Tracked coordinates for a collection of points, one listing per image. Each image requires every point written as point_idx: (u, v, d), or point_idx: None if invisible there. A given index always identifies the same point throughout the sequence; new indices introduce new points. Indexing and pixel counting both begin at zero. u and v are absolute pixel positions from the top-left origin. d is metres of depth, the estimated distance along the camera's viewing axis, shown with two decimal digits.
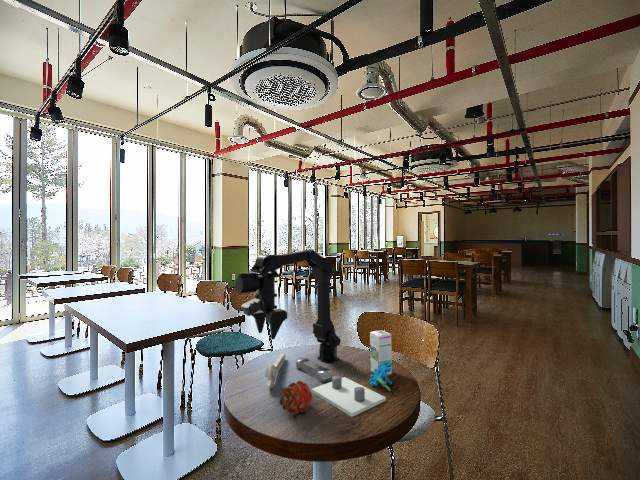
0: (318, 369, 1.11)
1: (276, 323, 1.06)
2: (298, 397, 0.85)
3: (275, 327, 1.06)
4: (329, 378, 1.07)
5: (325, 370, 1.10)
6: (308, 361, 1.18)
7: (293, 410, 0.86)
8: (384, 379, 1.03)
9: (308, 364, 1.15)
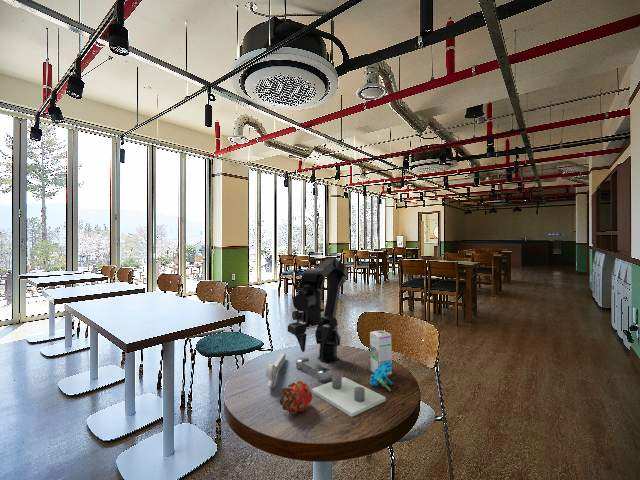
0: (318, 369, 1.11)
1: (301, 337, 1.10)
2: (298, 397, 0.85)
3: (300, 340, 1.11)
4: (329, 378, 1.07)
5: (325, 370, 1.10)
6: (308, 361, 1.18)
7: (293, 410, 0.86)
8: (384, 379, 1.03)
9: (308, 364, 1.15)
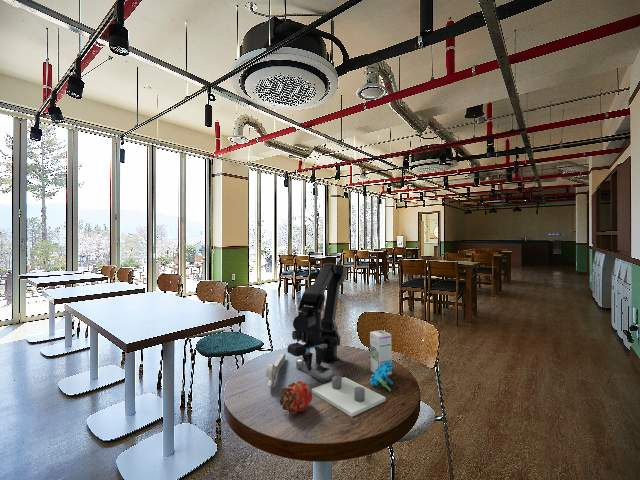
0: (318, 369, 1.11)
1: (307, 356, 1.12)
2: (298, 397, 0.85)
3: (306, 359, 1.12)
4: (329, 378, 1.07)
5: (325, 369, 1.10)
6: None
7: (293, 410, 0.86)
8: (385, 379, 1.03)
9: None
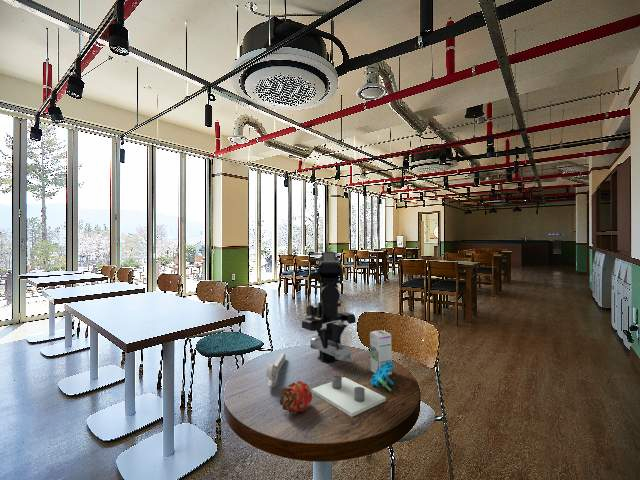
0: (335, 346, 1.01)
1: (323, 332, 1.03)
2: (298, 397, 0.85)
3: (322, 336, 1.03)
4: (347, 355, 0.98)
5: (343, 346, 1.01)
6: None
7: (293, 410, 0.86)
8: (385, 379, 1.03)
9: None
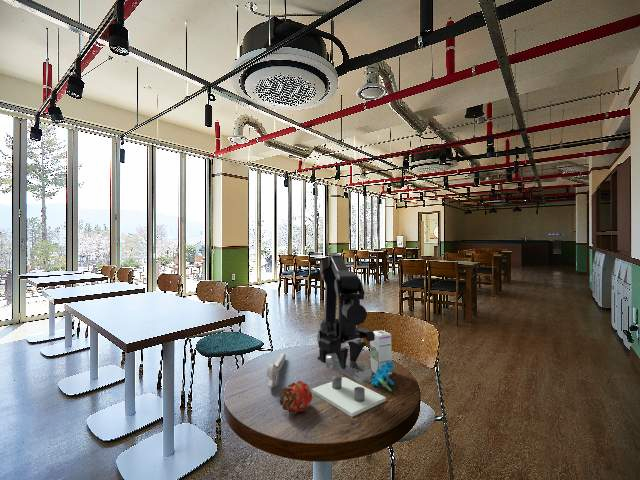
0: (355, 367, 0.94)
1: (341, 352, 0.95)
2: (298, 397, 0.85)
3: (340, 356, 0.95)
4: (369, 377, 0.91)
5: (363, 367, 0.93)
6: None
7: (293, 410, 0.86)
8: (385, 379, 1.03)
9: None
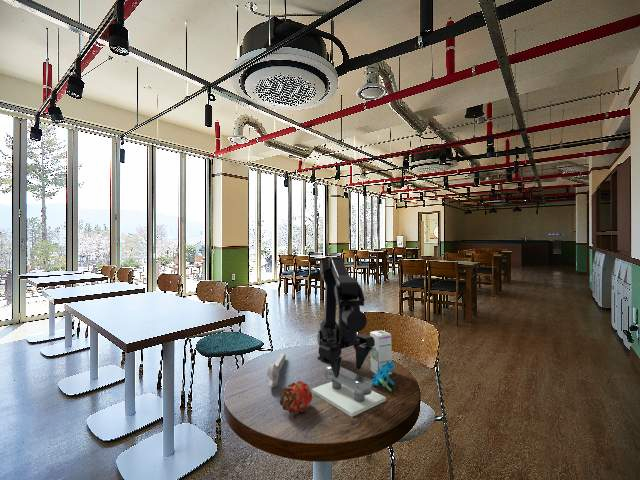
0: (355, 378, 0.94)
1: (334, 360, 0.93)
2: (298, 397, 0.85)
3: (333, 364, 0.94)
4: (369, 389, 0.91)
5: (363, 379, 0.93)
6: (340, 368, 1.01)
7: (293, 410, 0.86)
8: (386, 379, 1.03)
9: (341, 372, 0.98)
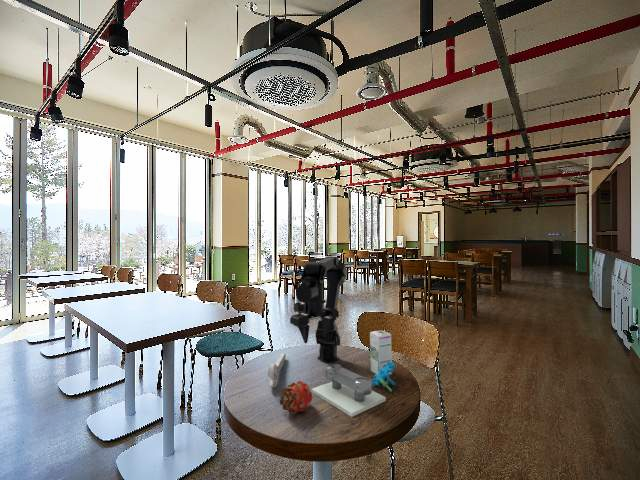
0: (355, 378, 0.94)
1: (303, 328, 1.11)
2: (298, 397, 0.85)
3: (303, 332, 1.11)
4: (369, 389, 0.91)
5: (363, 379, 0.93)
6: (340, 368, 1.01)
7: (293, 410, 0.86)
8: (386, 380, 1.03)
9: (341, 372, 0.98)
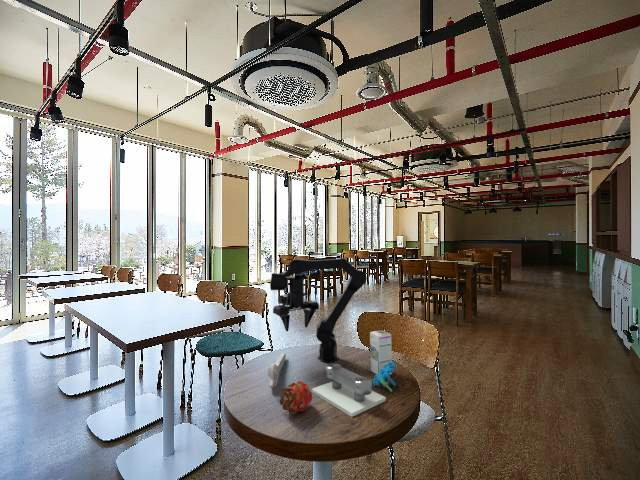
0: (355, 378, 0.94)
1: (285, 318, 1.24)
2: (298, 397, 0.85)
3: (284, 321, 1.24)
4: (369, 389, 0.91)
5: (363, 379, 0.93)
6: (340, 368, 1.01)
7: (293, 410, 0.86)
8: (387, 380, 1.03)
9: (341, 372, 0.98)
